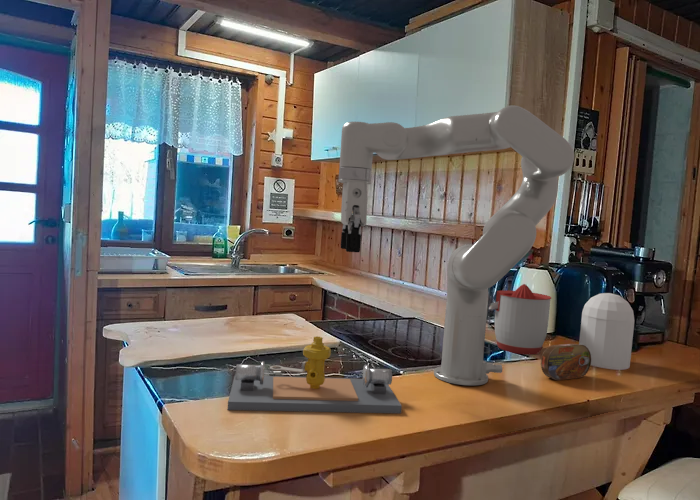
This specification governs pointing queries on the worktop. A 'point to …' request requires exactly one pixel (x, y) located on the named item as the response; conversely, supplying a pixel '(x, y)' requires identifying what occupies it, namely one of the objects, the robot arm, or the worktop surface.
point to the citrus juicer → (521, 320)
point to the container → (608, 331)
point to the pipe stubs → (369, 377)
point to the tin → (566, 361)
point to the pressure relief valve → (312, 363)
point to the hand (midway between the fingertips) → (349, 250)
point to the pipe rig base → (312, 396)
